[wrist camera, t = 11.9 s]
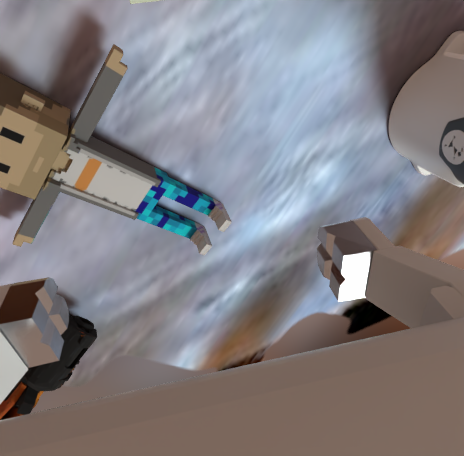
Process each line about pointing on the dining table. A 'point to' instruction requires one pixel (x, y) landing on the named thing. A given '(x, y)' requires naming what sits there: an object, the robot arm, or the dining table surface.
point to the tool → (50, 370)
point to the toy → (86, 162)
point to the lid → (141, 1)
